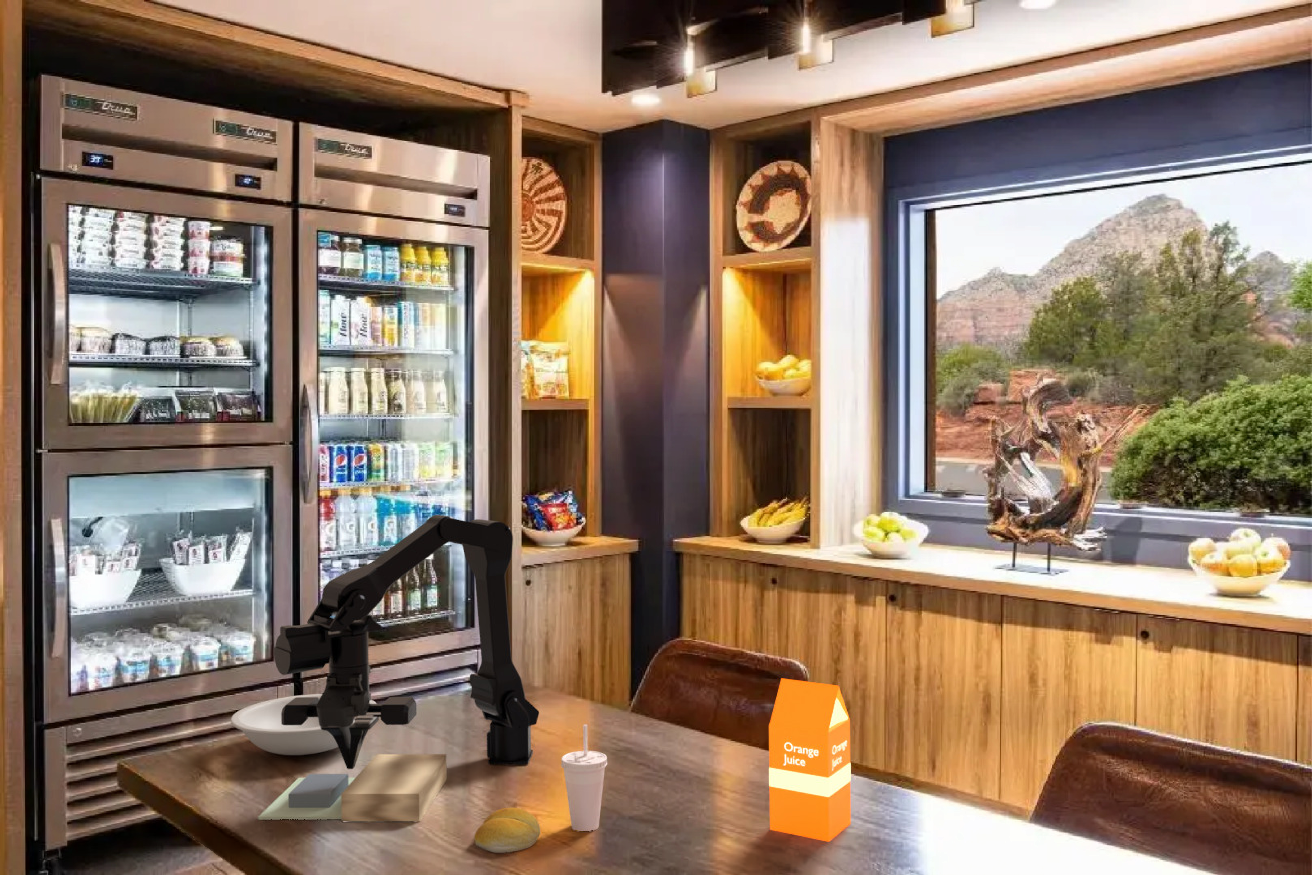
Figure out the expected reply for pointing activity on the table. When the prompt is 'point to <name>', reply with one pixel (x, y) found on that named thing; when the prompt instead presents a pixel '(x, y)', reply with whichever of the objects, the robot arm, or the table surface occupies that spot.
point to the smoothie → (584, 785)
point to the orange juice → (809, 761)
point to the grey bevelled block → (318, 791)
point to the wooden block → (394, 788)
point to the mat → (282, 810)
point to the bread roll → (508, 831)
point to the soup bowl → (282, 729)
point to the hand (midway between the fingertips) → (350, 768)
